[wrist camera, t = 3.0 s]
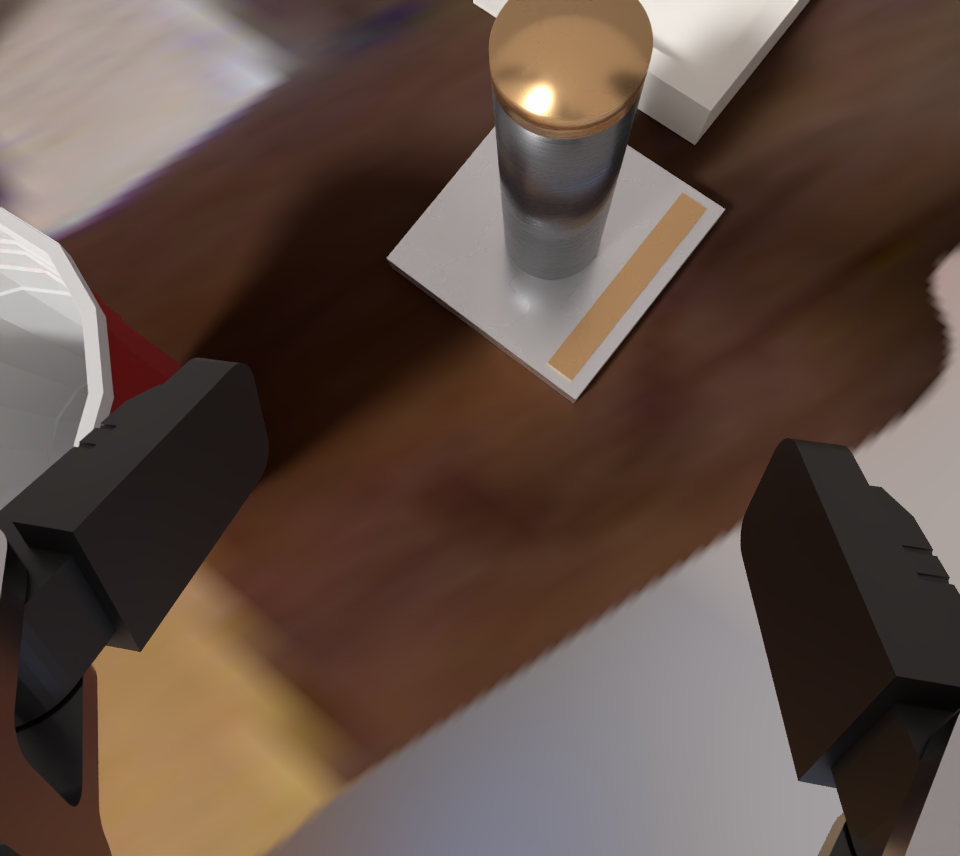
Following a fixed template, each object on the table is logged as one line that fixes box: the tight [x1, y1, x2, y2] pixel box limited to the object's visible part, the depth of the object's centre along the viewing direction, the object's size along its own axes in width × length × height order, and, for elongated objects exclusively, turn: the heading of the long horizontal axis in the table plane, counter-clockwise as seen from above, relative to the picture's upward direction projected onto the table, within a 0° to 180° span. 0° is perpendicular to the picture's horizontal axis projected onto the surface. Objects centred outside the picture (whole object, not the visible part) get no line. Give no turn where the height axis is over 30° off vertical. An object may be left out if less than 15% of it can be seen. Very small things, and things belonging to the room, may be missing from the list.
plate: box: [387, 127, 725, 404], centre depth 24 cm, size 10×10×1 cm
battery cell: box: [489, 0, 653, 280], centre depth 19 cm, size 4×4×10 cm
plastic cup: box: [0, 207, 182, 510], centre depth 19 cm, size 11×11×12 cm
